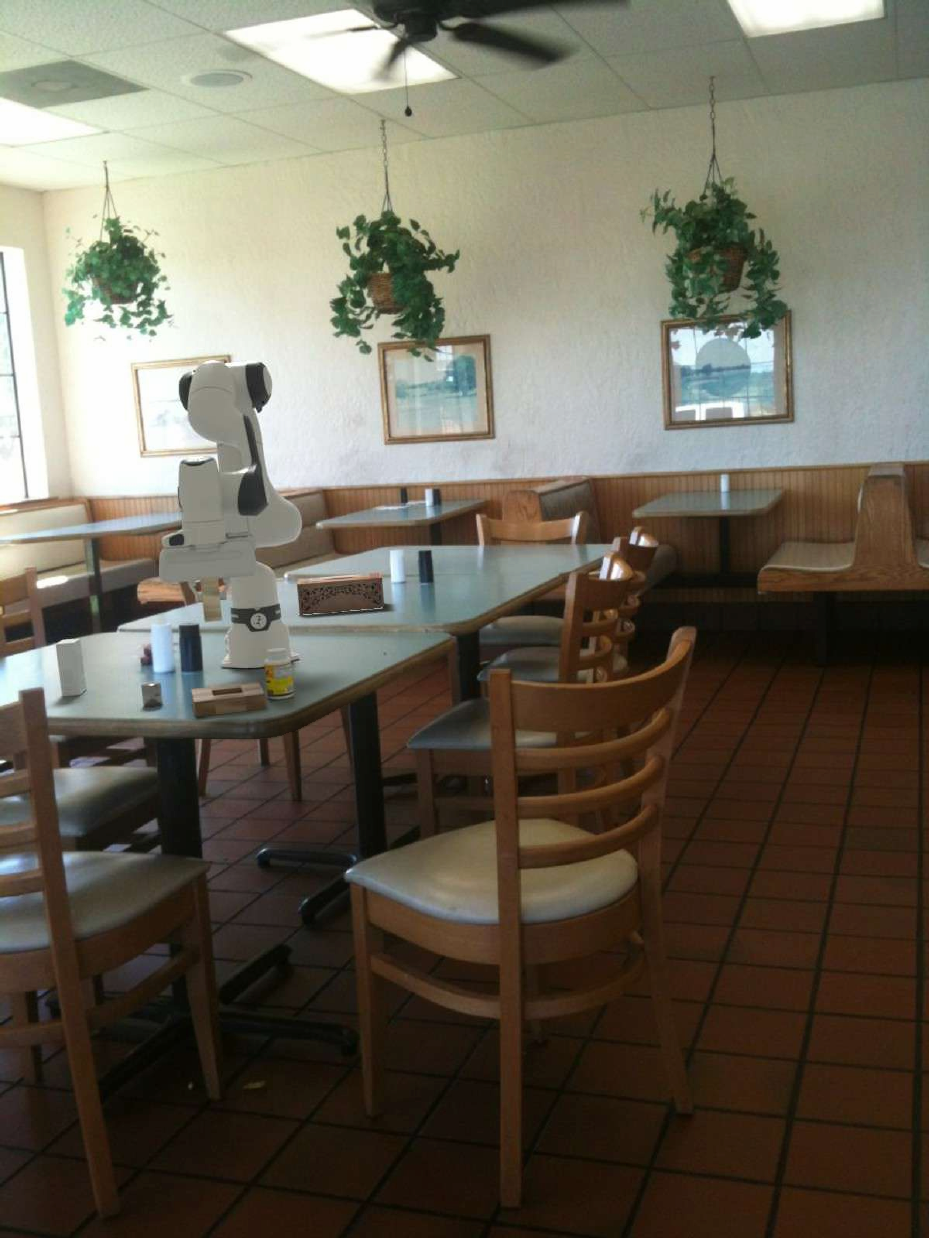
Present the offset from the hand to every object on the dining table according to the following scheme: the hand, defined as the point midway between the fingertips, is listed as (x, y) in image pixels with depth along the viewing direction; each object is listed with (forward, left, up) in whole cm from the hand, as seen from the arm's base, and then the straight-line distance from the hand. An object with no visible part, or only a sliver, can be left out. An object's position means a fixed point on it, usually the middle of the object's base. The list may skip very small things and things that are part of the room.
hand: (211, 600), depth 263 cm
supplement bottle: (+6, +12, -21) cm, 25 cm away
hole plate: (+9, +1, -21) cm, 23 cm away
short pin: (-1, -14, -21) cm, 25 cm away
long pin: (0, 0, -4) cm, 4 cm away
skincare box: (-25, -31, -21) cm, 45 cm away
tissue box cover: (-117, +45, -21) cm, 127 cm away
